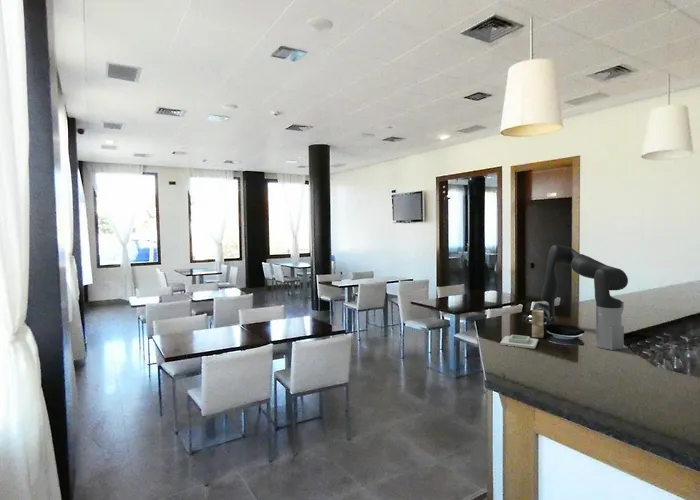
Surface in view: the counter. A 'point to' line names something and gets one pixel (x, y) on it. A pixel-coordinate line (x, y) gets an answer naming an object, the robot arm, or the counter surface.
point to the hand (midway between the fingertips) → (537, 322)
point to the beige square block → (538, 323)
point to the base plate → (519, 341)
